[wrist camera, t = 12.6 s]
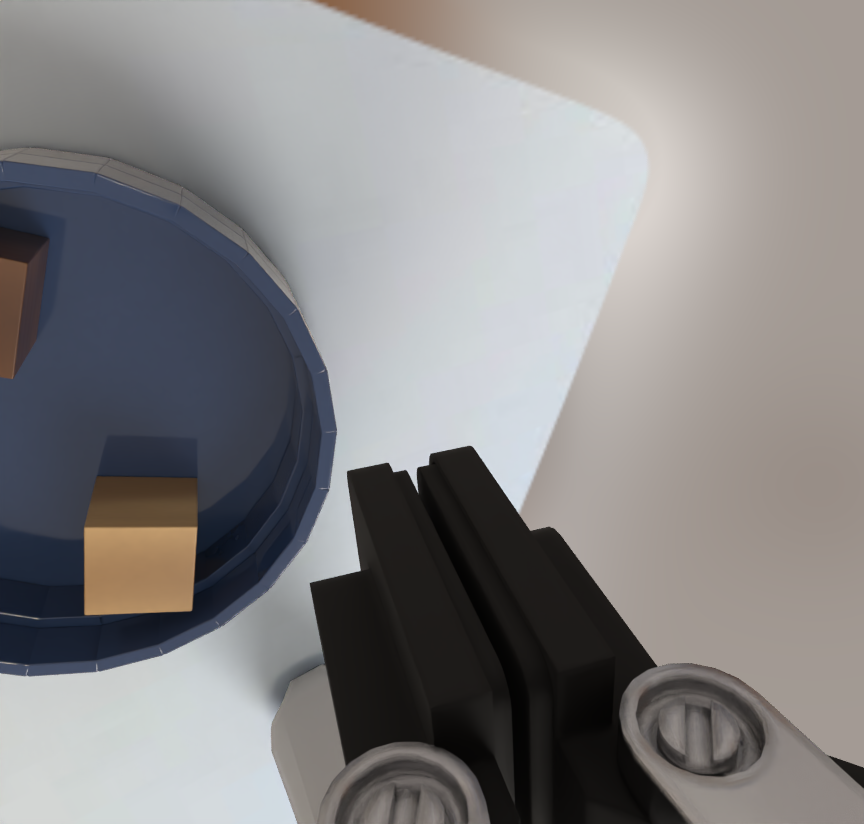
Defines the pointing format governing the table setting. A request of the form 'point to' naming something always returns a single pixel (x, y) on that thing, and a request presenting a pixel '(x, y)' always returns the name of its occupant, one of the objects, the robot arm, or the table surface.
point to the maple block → (140, 545)
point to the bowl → (149, 406)
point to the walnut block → (20, 295)
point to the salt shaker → (307, 743)
